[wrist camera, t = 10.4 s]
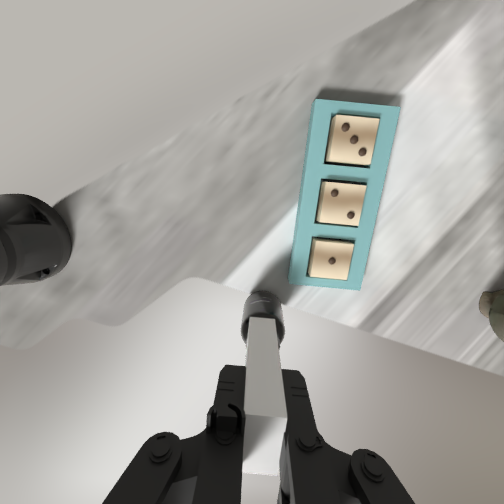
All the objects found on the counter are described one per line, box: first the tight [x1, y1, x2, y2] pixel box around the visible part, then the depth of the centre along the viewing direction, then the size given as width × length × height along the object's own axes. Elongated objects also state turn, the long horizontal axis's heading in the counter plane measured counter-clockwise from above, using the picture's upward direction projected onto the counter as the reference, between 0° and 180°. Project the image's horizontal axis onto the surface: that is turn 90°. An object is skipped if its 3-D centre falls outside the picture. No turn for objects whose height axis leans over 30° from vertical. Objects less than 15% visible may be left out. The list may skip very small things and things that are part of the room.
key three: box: [325, 115, 380, 165], centre depth 37 cm, size 6×6×3 cm
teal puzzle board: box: [288, 99, 401, 290], centre depth 41 cm, size 28×12×2 cm, turn 175°
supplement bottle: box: [241, 291, 285, 349], centre depth 41 cm, size 7×7×12 cm
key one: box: [307, 238, 354, 280], centre depth 42 cm, size 6×6×3 cm
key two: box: [316, 182, 366, 226], centre depth 39 cm, size 6×6×3 cm
